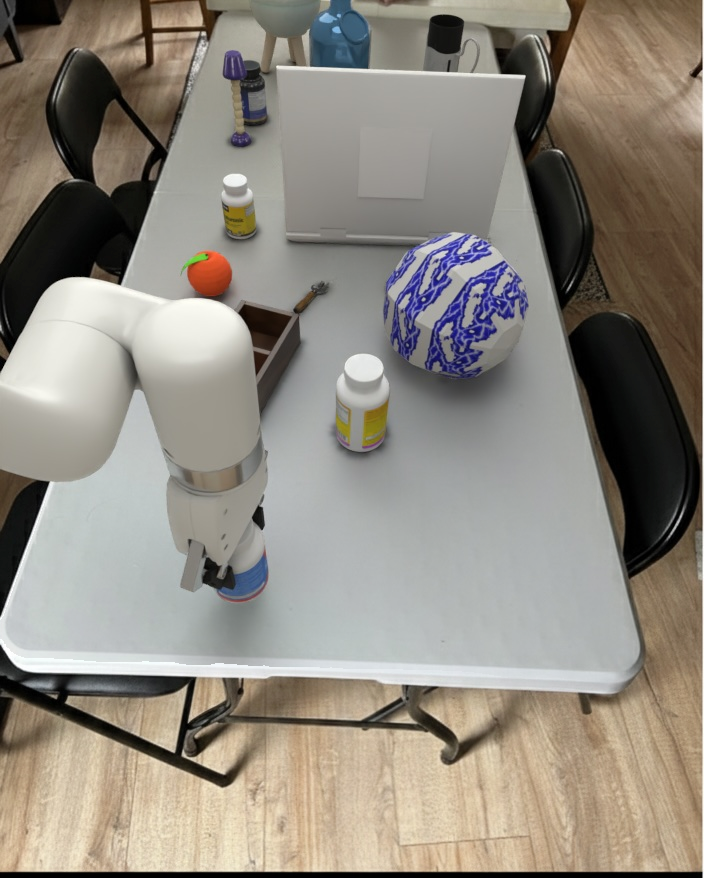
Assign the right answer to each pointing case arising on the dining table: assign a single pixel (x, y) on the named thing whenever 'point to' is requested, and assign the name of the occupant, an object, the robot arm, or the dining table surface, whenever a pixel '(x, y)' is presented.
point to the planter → (284, 25)
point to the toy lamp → (236, 93)
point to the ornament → (454, 306)
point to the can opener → (310, 296)
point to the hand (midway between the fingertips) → (235, 551)
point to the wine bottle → (340, 38)
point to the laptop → (392, 152)
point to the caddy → (270, 343)
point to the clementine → (209, 273)
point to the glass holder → (445, 44)
